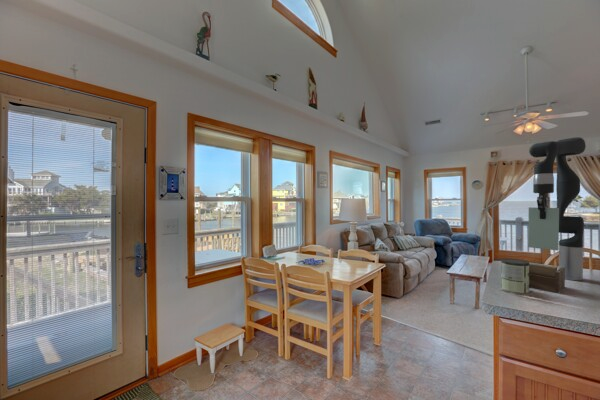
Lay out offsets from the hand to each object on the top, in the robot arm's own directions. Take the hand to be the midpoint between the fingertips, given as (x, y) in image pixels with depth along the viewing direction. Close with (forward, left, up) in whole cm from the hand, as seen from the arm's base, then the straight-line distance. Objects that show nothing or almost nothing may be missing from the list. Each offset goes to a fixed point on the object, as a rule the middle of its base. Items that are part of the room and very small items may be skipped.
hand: (543, 218), depth 134 cm
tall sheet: (0, 0, -15) cm, 15 cm away
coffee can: (+21, -6, -33) cm, 39 cm away
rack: (+5, 0, -33) cm, 33 cm away
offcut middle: (+3, 0, -32) cm, 32 cm away
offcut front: (+6, 0, -32) cm, 32 cm away
